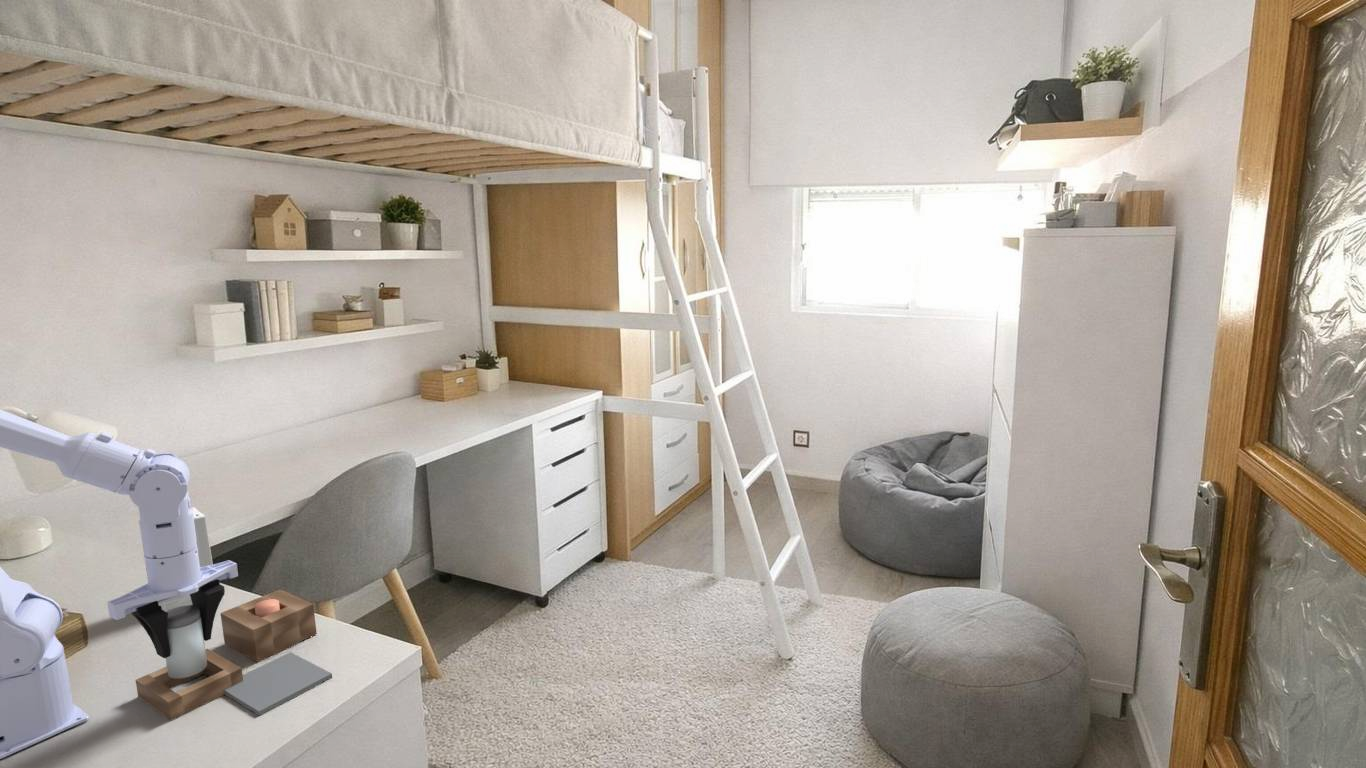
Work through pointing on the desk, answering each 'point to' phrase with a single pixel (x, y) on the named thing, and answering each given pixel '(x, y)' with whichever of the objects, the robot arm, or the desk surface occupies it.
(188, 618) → the cylinder
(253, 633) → the plunger housing
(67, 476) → the robot arm
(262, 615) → the plunger
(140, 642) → the desk surface
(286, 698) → the pad
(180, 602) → the skincare box
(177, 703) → the sleeve
